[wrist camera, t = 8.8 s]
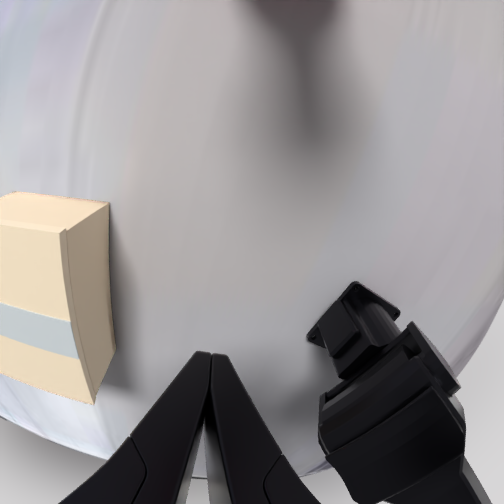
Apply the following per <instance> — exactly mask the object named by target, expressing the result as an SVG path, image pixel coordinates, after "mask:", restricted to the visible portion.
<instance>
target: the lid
mask: <svg viewBox="0 0 504 504" xmlns="http://www.w3.org/2000/svg"><path fill="white" fill-rule="evenodd" d="M0 373H1V374H4V375H6V376H8V377H11V378H13V379H15V380H18V381H20V382H23V383H25V384H28V385H31V386H33V387H36V388H39V389H42V390H44V391H47V392H50V393H53V394H56V395H60V396H63V397H66V398H69V399H73V400H76V401H80V402H84V403H87V404H91V405H94V404H95V400H96V395H95V392H94V389H93V386H92V383H91V379H90V376H89V372H88V368H87V365H86V361H85V357H84V353H83V349H82V344H81V340H80V335H79V331H78V326H77V320H76V315H75V309H74V303H73V297H72V290H71V282H70V274H69V264H68V253H67V238H66V228H64V227H56V226H49V225H41V224H34V223H26V222H19V221H11V220H4V219H0Z"/></svg>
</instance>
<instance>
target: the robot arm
mask: <svg viewBox="0 0 504 504" xmlns="http://www.w3.org/2000/svg"><path fill="white" fill-rule="evenodd" d="M355 287H357V288H356V289H354V288H355ZM394 313H395V314H394ZM399 315H400V310H399V309H398V308H397V307H395V306H394V305H392V304H391V303H389V302H388V301H386V300H385V299H383V298H382V297H381V296H379V295H378V294H376V293H374V292H373V291H371V290H370V289H368V288H367V287H365V286H364V285H362V284H361V283H359V282H357V281H354V282H352V283H351V284H350V285H349V286H348V288H347V289H346V290H345V291H344V292H343V294H342V295H341V296H340V297H339V298H338V300H337V301H335V302H334V304H333V305H332V306H331V307H330V308H329V309H328V311H327V312H326V313H325V314H324V315H323V316H322V317H321V319H320V320H319V321H318V323H317V324H316V325H315V326H314V327H313V328H312V329H311V330H310V331H309V333H308V334H307V338H308V340H309V341H310V342H312V343H314V344H316V345H319V346H321V347H323V348H325V349H327V351H328V354H329V356H330V357H331V359H332V361H333V364H334V367H335V369H336V372H337V375H338V377H339V378H341V379H342V382H341V383H340V384H338V385H337V386H336V387H334V388H333V389H331V390H330V391H329V392H325V393H324V394H322V395H321V396H320V404H319V423H318V439H319V444H320V446H321V448H322V450H323V452H324V453H325V455H326V456H325V458H326V460H327V461H328V462H329V463H330V464H331V465H332V466H333V467H334V468H335V469H336V471H337V472H338V474H339V475H340V476H341V478H342V479H343V481H344V483H345V485H346V487H347V489H348V491H349V493H350V495H351V497H352V499H353V500H354V501H355V502H357V503H358V504H377V503H379V502H381V501H384V502H387V503H390V504H492V503H491V501H490V499H489V497H488V496H487V494H486V492H485V490H484V488H483V487H482V485H481V483H480V481H479V480H478V478H477V476H476V475H475V473H474V471H473V470H472V468H471V467H470V465H469V463H468V462H467V460H466V458H465V456H464V451H465V437H466V423H465V416H464V409H463V407H462V405H461V404H460V402H459V401H458V399H457V397H456V396H455V393H456V392H457V391H458V390H459V389H460V388H461V386H460V384H459V382H458V380H457V379H456V377H455V375H454V373H453V371H452V370H451V368H450V366H449V365H448V363H447V362H446V360H445V359H444V358H443V356H442V355H441V354H440V352H439V351H438V350H437V349H436V347H435V346H434V345H433V344H432V342H431V341H430V340H429V339H428V338H427V337H426V336H425V335H424V333H423V332H422V331H421V330H420V329H419V328H418V327H417V326H416V325H415V323H414V322H413V321H411V322H410V323H409V324H408V325H407V328H406V329H405V330H404V331H403V332H402V333H401V331H400V330H399V328H398V327H397V325H396V324H395V323H394V321H395V320H396V319H397V318H398V317H399ZM314 335H315V336H314ZM312 336H314V337H312ZM203 424H204V440H205V454H206V467H207V479H208V490H209V500H210V504H321V503H320V502H319V501H318V500H317V499H316V498H315V497H314V496H313V494H312V493H311V492H310V491H309V490H308V488H307V487H306V486H305V485H304V484H303V483H302V481H301V480H300V479H299V477H298V475H297V474H296V473H295V471H294V470H293V468H292V467H291V465H290V464H289V462H288V461H287V459H286V457H285V456H284V455H283V454H282V451H281V450H280V448H279V446H278V445H277V443H276V441H275V440H274V438H273V436H272V435H271V433H270V431H269V430H268V428H267V426H266V425H265V423H264V421H263V419H262V418H261V416H260V414H259V412H258V411H257V409H256V407H255V405H254V404H253V402H252V400H251V398H250V396H249V395H248V393H247V391H246V389H245V387H244V386H243V384H242V382H241V380H240V378H239V376H238V374H237V372H236V371H235V369H234V367H233V365H232V363H231V361H230V359H229V357H228V356H227V355H224V354H217V353H213V354H212V356H211V353H209V352H203V351H196V352H195V353H194V354H193V356H192V357H191V358H190V359H189V361H188V362H187V363H186V365H185V366H184V367H183V368H182V370H181V371H180V372H179V374H178V375H177V376H176V377H175V379H174V380H173V381H172V382H171V384H170V385H169V386H168V388H167V389H166V390H165V391H164V393H163V394H162V395H161V396H160V398H159V399H158V400H157V401H156V403H155V404H154V405H153V406H152V408H151V409H150V410H149V411H148V413H147V414H146V415H145V416H144V418H143V419H142V420H141V421H140V423H139V424H138V425H137V426H136V428H135V429H134V430H133V431H132V433H131V434H130V437H127V439H126V440H125V441H124V442H123V443H122V445H121V446H120V447H119V448H118V449H117V451H116V452H115V453H114V454H113V455H112V456H111V457H110V458H109V460H108V461H107V462H106V463H105V464H104V465H103V466H101V467H100V468H99V470H97V472H95V473H94V474H93V475H92V476H91V477H90V478H88V479H87V480H86V481H85V482H84V483H83V484H81V485H80V486H79V487H78V488H77V489H76V490H74V491H73V492H72V493H71V494H69V495H68V496H67V497H66V498H65V499H63V500H62V501H61V502H60V503H58V504H185V503H186V499H187V495H188V490H189V486H190V481H191V477H192V473H193V469H194V464H195V460H196V456H197V451H198V447H199V443H200V439H201V434H202V429H203ZM281 454H282V455H281Z"/></svg>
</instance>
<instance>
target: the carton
mask: <svg viewBox="0 0 504 504" xmlns="http://www.w3.org/2000/svg"><path fill="white" fill-rule="evenodd" d="M0 219H4V220H11V221H19V222H26V223H34V224H41V225H49V226H56V227H64V228H66V238H67V253H68V264H69V274H70V282H71V290H72V297H73V303H74V309H75V315H76V320H77V326H78V331H79V335H80V340H81V344H82V349H83V353H84V357H85V361H86V365H87V368H88V372H89V376H90V379H91V383H92V386H93V389H94V392H95V395H97V392H98V390H99V387H100V385H101V383H102V380H103V378H104V376H105V373H106V371H107V369H108V366H109V364H110V362H111V360H112V358H113V355H114V353H115V351H116V344H115V336H114V327H113V318H112V307H111V293H110V276H109V202H101V201H93V200H86V199H78V198H70V197H61V196H53V195H44V194H35V193H26V192H16V191H15V192H12V193H10V194H7V195H5V196H3V197H0Z"/></svg>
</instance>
